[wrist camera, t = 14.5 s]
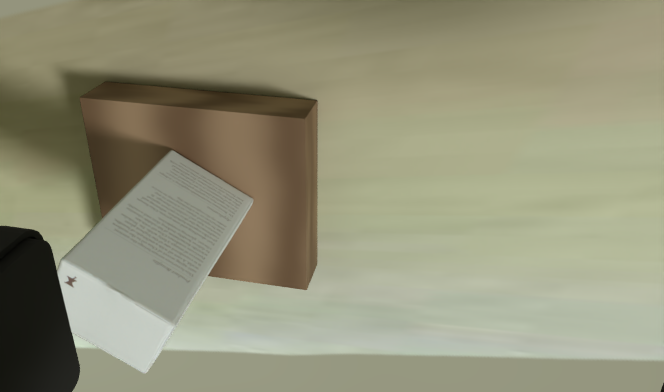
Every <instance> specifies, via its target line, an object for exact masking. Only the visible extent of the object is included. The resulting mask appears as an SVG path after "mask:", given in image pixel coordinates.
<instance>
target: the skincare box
mask: <svg viewBox="0 0 664 392" xmlns="http://www.w3.org/2000/svg"><path fill="white" fill-rule="evenodd" d="M252 204H253V198H251V197H249V196H248V195H246V194H244V193H243V192H241V191H239V190H238V189H236V188H234V187H233V186H231V185H229V184H228V183H226V182H224V181H223V180H221V179H219V178H218V177H216V176H214V175H213V174H211V173H209V172H208V171H206V170H204V169H203V168H201V167H200V166H198V165H196V164H195V163H193V162H191V161H190V160H188V159H186V158H185V157H183V156H181V155H180V154H178V153H177V152H175V151H173V150H171V151H169V152H168V153H167V154H166V155H165V156H164V157H163V158H162V159H161V160H160V161H159V162H158V163H157V164H156V165H155V166H154V167H153V168H152V169H151V170H150V171H149V172H148V173H147V174H146V175H145V176H144V177H143V178H142V179H141V180H140V181H139V182H138V183H137V184H136V185H135V186H134V187H133V188H132V189H131V190H130V191H129V192H128V193H127V194H126V195H125V196H124V197H123V198H122V199H121V200H120V201H119V202H118V203H117V204H116V205H115V206H114V207H113V208H112V209H111V210H110V211H109V212H108V213H107V214H106V215H105V216H104V217H103V218H102V219H101V220H100V221H99V222H98V223H97V224H96V225H95V226H94V227H93V228H92V229H91V230H90V231H89V232H88V233H87V234H86V235H85V237H84V238H83V239H82V240H81V241H80V242H78V243H77V244H76V245H75V246H74V247H73V248H72V249H71V250H70V251H69V252H68V253H67V254H66V255H65V256H64V257H63V258H62V259H61V261H60V263H59V266H58V269H57V274H58V278H59V282H60V286H61V290H62V294H63V299H64V303H65V307H66V311H67V315H68V319H69V323H70V328H71V332H72V333H73V334H75V335H77V336H79V337H80V338H82V339H84V340H86V341H88V342H89V343H91V344H93V345H94V346H96V347H98V348H100V349H101V350H103V351H105V352H107V353H109V354H110V355H112V356H114V357H116V358H118V359H119V360H121V361H123V362H125V363H126V364H128V365H130V366H132V367H134V368H135V369H137V370H139V371H140V372H142V373H146V372H147V371H148V370H149V369H150V367H151V366H152V364H153V363H154V361H155V360H156V358H157V357H158V355H159V354H160V352H161V351H162V349H163V347H164V346H165V344H166V343H167V341H168V340H169V338H170V336H171V335H172V333H173V331H174V330H175V328H176V327H177V325H178V323H179V322H180V320H181V318H182V317H183V315H184V313H185V312H186V310H187V308H188V307H189V305H190V303H191V302H192V300H193V298H194V297H195V295H196V294H197V292H198V290H199V289H200V287H201V286H202V284H203V282H204V281H205V279H206V278H207V276H208V275H209V273H210V271H211V270H212V268H213V267H214V265H215V263H216V262H217V260H218V259H219V257H220V256H221V254H222V253H223V251H224V249H225V248H226V246H227V245H228V243H229V242H230V240H231V238H232V237H233V235H234V233H235V232H236V230H237V229H238V227H239V225H240V224H241V222H242V221H243V219H244V217H245V216H246V214H247V212H248V211H249V209H250V207H251V206H252Z"/></svg>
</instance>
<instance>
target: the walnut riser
mask: <svg viewBox="0 0 664 392" xmlns="http://www.w3.org/2000/svg"><path fill="white" fill-rule="evenodd" d="M80 103H81V108H82V113H83V119H84V124H85V129H86V135H87V140H88V145H89V150H90V156H91V161H92V166H93V172H94V177H95V182H96V187H97V193H98V198H99V203H100V209H101V214H102V218H103V217H104V216H105V215H106V214H107V213H108V212H109V211H110V210H111V209H112V208H113V207H114V206H115V205H116V204H117V203H118V202H119V201H120V200H121V199H122V198H123V197H124V196H125V195H126V194H127V193H128V192H129V191H130V190H131V189H132V188H133V187H134V186H135V185H136V184H137V183H138V182H139V181H140V180H141V179H142V178H143V177H144V176H145V175H146V174H147V173H148V172H149V171H150V170H151V169H152V168H153V167H154V166H155V165H156V164H157V163H158V162H159V161H160V160H161V159H162V158H163V157H164V156H165V155H166V154H167V153H168V152H169V151H171V150H173V151H175V152H177V153H178V154H180V155H181V156H183V157H185V158H186V159H188V160H190V161H191V162H193V163H195V164H196V165H198V166H200V167H201V168H203V169H204V170H206V171H208V172H209V173H211V174H213V175H214V176H216V177H218V178H219V179H221V180H223V181H224V182H226V183H228V184H229V185H231V186H233V187H234V188H236V189H238V190H239V191H241V192H243V193H244V194H246V195H248V196H249V197H251V198H253V204H252V206H251V207H250V209H249V211H248V212H247V214H246V216H245V217H244V219H243V221H242V222H241V224H240V225H239V227H238V229H237V230H236V232H235V233H234V235H233V237H232V238H231V240H230V242H229V243H228V245H227V246H226V248H225V249H224V251H223V253H222V254H221V256H220V257H219V259H218V260H217V262H216V263H215V265H214V267H213V268H212V270H211V271H210V273H209V275H208V276H212V277H219V278H226V279H233V280H240V281H247V282H254V283H261V284H268V285H275V286H282V287H289V288H296V289H303V290H307V288H308V285H309V283H310V280H311V278H312V276H313V273H314V271H315V268H316V266H317V101H316V100H305V99H294V98H283V97H271V96H260V95H249V94H238V93H226V92H215V91H204V90H193V89H181V88H170V87H159V86H148V85H136V84H125V83H114V82H104V83H102V84H101V85H99V86H97V87H96V88H94V89H93V90H91V91H89V92H88V93H86V94H85V95H83V96H81V97H80Z"/></svg>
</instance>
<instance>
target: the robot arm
mask: <svg viewBox="0 0 664 392" xmlns="http://www.w3.org/2000/svg"><path fill="white" fill-rule="evenodd" d="M79 366H80V365H79V361H78V357H77V353H76V348H75V344H74V340H73V336H72V332H71V328H70V323H69V319H68V315H67V311H66V307H65V303H64V299H63V294H62V290H61V286H60V282H59V278H58V274H57V270H56V265H55V261H54V257H53V253H52V249H51V247H50V244H49V243H48V242H47V241H44V240H43V237H42V235H41V234H40V233H39V232H38V231H35V230H32V229H24V228H17V227H10V226H0V392H72V391H73V389H74V388H75V386H76V384H77V381H78V378H79V373H80V367H79ZM661 392H664V383H663V386H662V389H661Z"/></svg>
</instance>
